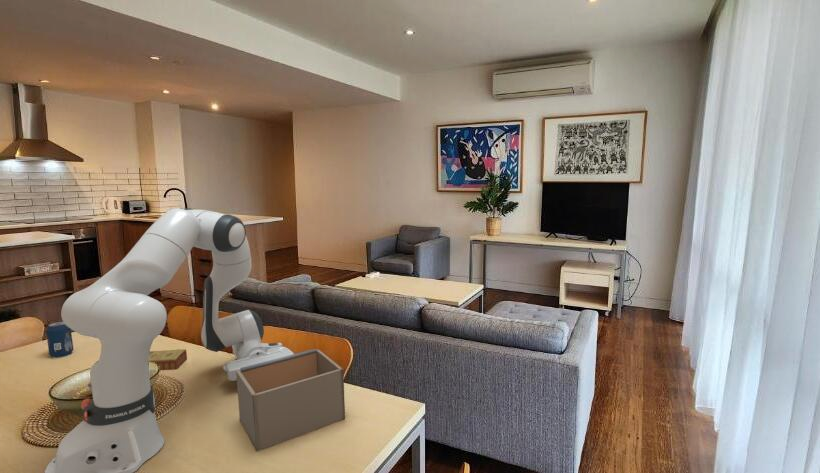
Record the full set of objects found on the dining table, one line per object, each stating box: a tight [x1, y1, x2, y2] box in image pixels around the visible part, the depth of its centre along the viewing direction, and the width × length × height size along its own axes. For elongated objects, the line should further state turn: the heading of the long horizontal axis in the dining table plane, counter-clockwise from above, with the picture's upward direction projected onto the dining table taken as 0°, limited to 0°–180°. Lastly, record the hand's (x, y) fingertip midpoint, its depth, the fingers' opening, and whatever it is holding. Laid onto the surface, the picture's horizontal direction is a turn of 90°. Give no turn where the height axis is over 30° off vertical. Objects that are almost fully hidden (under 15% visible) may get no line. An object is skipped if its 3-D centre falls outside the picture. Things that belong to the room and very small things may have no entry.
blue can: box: [45, 320, 74, 359], centre depth 155 cm, size 7×7×12 cm
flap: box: [240, 348, 317, 393], centre depth 118 cm, size 21×1×14 cm, turn 125°
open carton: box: [236, 349, 346, 452], centre depth 112 cm, size 23×16×14 cm
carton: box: [149, 349, 188, 371], centre depth 146 cm, size 8×16×4 cm, turn 96°
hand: (268, 373), depth 127 cm, fingers closed
